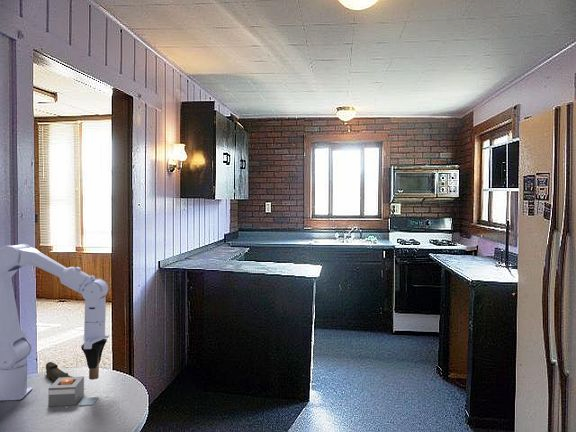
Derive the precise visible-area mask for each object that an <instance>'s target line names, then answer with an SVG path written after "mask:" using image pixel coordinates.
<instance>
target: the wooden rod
mask: <svg viewBox="0 0 576 432" xmlns="http://www.w3.org/2000/svg"><path fill="white" fill-rule="evenodd" d="M88 369H89V368H88ZM99 369H100V363H99V358H98V364H97V367H96V368H93V369H89V371H88V379H89V380H91V381H92V380H97V379H99V376H100V372H99V371H100V370H99Z"/></svg>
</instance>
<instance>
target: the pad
mask: <svg viewBox="0 0 576 432" xmlns="http://www.w3.org/2000/svg"><path fill="white" fill-rule="evenodd" d="M98 399H99V397H98V396H95V397H94V396H93V397H92V396H91V397H90V396H89V397H82V398H81V400H80V402H79V403H78V404H77V407H86V406H87V407H88V406H89V407H90V406H94V405H95V403H96V401H97V400H98Z"/></svg>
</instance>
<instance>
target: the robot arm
mask: <svg viewBox="0 0 576 432" xmlns="http://www.w3.org/2000/svg"><path fill="white" fill-rule="evenodd" d="M25 266H31V267H32V266H34V267H37V268H39V269H40V270H43V271H45V272H47V273H49V274H51V275H53V276H55V277H58V279H59V280H60V283H61V285H64V286H66V287H67V288H69V289H71V290H73V291H75V292H76V293H78V294H81V295H82V298H83V300H84V323H83V325H84V327H83V329H84V334H83V338H82V339H83V344H82V345H81V347H80V348H81V350H82V352H83V354H84V356H85V359H86V364H87V368H88V369H93V368H96V367H97V364H98V358H99V364H100V363H101V360H102V355H103V351H104V348H105V346H106V343H107V342H108V338H110V334H109V333H108V334H107V333H106V314H107V313H106V311H107V309H106V306H107V305H106V303H107V301H106V295H107V294H108V292H109V285H108V282H106V281H105V280H104V279H103V278H96V276H95V275H93V274H92V275H89V274H87V272H84V271H82V268H81V267H79V266H76V267H75V266H69V267H66V266H65V265H63V264H61V263H59V262H58V261H56V260H55V259H52V258H51V257H49V256H48V255H46V254H45V253H42V252H41V251H39V250H38V249H37V248H36V247H31V246H30V245H29V244H26V243H19V244H15V245H14V244H12V245H3V246H0V401H1V402H2V401H16V400H18V401H19V400H20V401H21V400H22V399H23V398H25V397H26V395H28V394H29V393H31V391H32V390H33V387H28V357H29V355H30V354H31V352H32V344H31V342H30V341H29V339H28V338H27V334H26V332H25V331H24V330H22V329H21V324H20V320H19V315H18V314H19V313H18V307H17V302H16V297H15V293H14V292H15V291H14V285H13V281H12V277H13V276H14V275H15V274H16V272H18V271H19V269H21V268H22V267H25Z"/></svg>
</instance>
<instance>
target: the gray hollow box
mask: <svg viewBox="0 0 576 432" xmlns="http://www.w3.org/2000/svg"><path fill="white" fill-rule="evenodd" d="M67 378H71V379H73V384H72V385H61V380H63V379H67ZM84 394H85V376H72V377H62V378H58V379H57V380H56V381H54V382H53V383H52V384H51V385H50V386H49V387H48V395H47V396H48V397H47V398H48V399H47V403H48V407H58V406H76V405H77V403H78V402H79V400H80V399H82V396H83V395H84Z"/></svg>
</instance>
